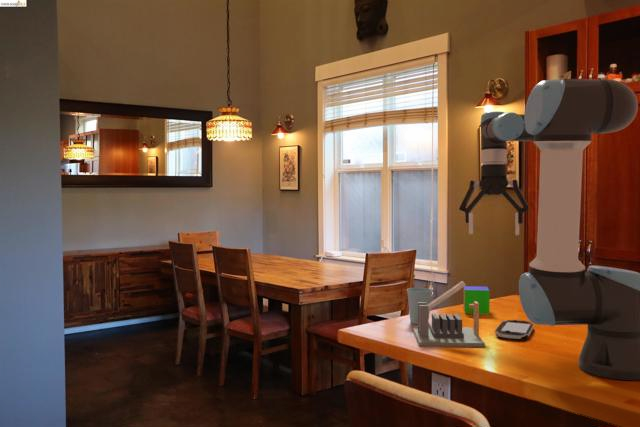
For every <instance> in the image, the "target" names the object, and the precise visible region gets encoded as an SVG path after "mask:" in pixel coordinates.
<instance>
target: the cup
mask: <svg viewBox="0 0 640 427" xmlns="http://www.w3.org/2000/svg"><path fill="white" fill-rule="evenodd" d="M432 292H433V290H432V288H427V287H409V288H407V289H406V294H407V295H406V296H407V302H408V311H409V313H408V314H409V320H410V323H411V324H413V325H418V302H426V303H427V305H428V304H429V303H431V302H432V294H433V293H432ZM430 310H431V309H430ZM430 310H429V314H430V312H431V311H430Z"/></svg>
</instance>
